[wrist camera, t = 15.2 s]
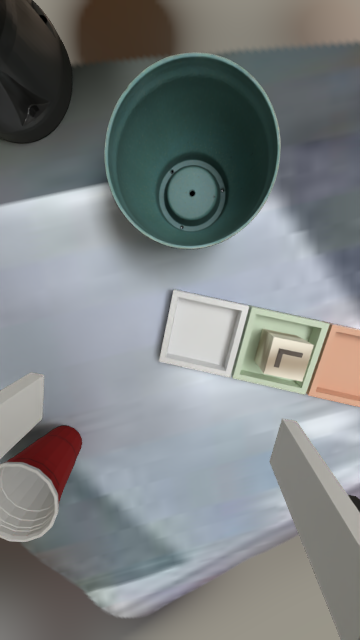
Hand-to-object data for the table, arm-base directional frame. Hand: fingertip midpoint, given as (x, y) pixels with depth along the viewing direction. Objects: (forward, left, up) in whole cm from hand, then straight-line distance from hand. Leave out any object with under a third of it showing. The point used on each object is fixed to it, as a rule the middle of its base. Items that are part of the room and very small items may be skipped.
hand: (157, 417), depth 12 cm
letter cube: (0, +14, -22) cm, 26 cm away
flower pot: (-18, -3, -23) cm, 29 cm away
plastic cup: (+24, -16, -23) cm, 36 cm away
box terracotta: (0, +25, -23) cm, 34 cm away
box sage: (0, +14, -23) cm, 27 cm away
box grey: (0, +3, -23) cm, 23 cm away
